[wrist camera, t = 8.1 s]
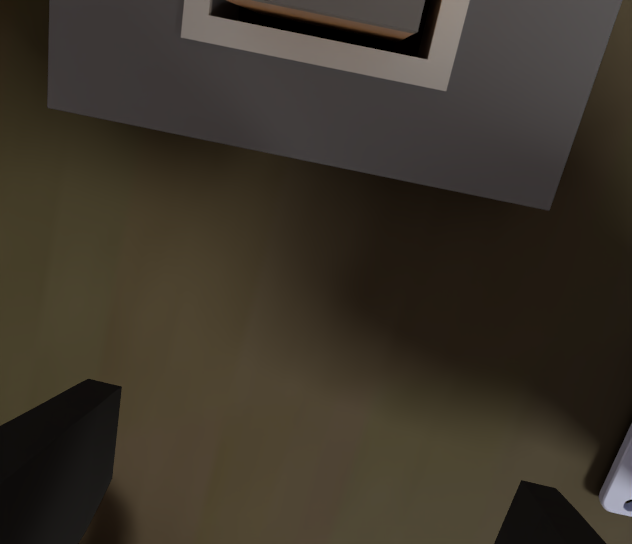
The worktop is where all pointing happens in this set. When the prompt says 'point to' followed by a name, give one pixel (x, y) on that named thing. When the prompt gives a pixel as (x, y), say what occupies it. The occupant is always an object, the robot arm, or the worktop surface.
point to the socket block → (347, 87)
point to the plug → (347, 15)
